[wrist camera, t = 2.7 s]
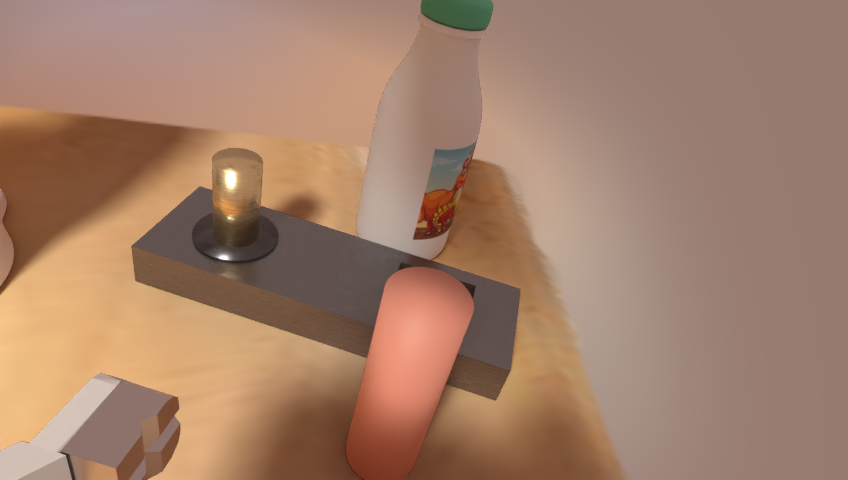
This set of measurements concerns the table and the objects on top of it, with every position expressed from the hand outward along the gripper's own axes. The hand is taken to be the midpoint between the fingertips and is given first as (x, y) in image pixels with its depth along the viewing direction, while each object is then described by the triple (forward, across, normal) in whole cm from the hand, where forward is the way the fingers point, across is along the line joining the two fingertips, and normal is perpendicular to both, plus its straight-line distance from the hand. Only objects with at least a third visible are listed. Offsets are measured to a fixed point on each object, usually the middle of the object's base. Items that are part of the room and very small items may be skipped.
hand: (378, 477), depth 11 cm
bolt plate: (+23, +7, +17) cm, 30 cm away
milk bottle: (+33, +4, +17) cm, 37 cm away
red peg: (+13, 0, +18) cm, 22 cm away
